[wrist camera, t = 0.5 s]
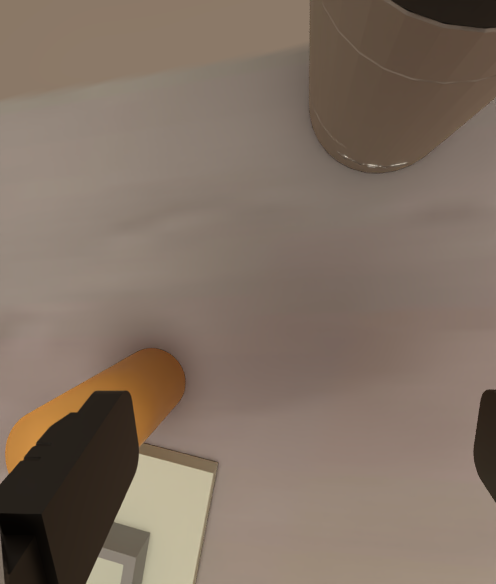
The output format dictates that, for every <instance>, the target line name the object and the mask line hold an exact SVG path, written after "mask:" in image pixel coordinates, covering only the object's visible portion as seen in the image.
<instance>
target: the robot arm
mask: <svg viewBox="0 0 496 584" xmlns="http://www.w3.org/2000/svg"><path fill="white" fill-rule="evenodd" d="M494 98H496V0H310V56H309V113H310V118H311V123H312V127H313V130H314V132H315V134H316V136H317V139H318V141H319V142H320V143H321V145H322V146H323V147H324V149H325V150H326V151H327V152H328V153H329V154H330V155H331V156H332V157H333V158H335V159H336V160H337V161H338V162H340V163H342V164H344V165H346V166H348V167H350V168H352V169H355V170H359V171H363V172H370V173H384V172H391V171H396V170H399V169H402V168H404V167H407V166H410V165H412V164H413V163H415V162H417V161H418V160H420V159H422V158H423V157H425V156H426V155H427V154H428V153H430V152H431V151H432V150H433V149H434V148H435V147H437V146H438V145H439V144H440V143H441V142H443V141H444V140H445V139H447V138H448V137H449V136H450V135H451V134H453V133H454V132H455V131H456V130H457V129H459V128H460V127H461V126H462V125H463V124H465V123H466V122H467V121H468V120H469V119H471V118H472V117H473V116H474V115H475V114H476V113H478V112H479V111H480V110H481V109H482V108H484V107H485V106H486V105H487V104H488V103H490V102H491V101H492V100H493V99H494ZM138 460H139V443H138V436H137V430H136V423H135V416H134V409H133V402H132V397H131V394H130V393H129V391H94V392H93V393H92V394H91V395H90V397H89V398H88V399H87V400H86V402H85V403H84V404H83V405H82V407H81V408H80V409H79V411H78V412H71V413H69V414H68V415H66V416H65V417H63V418H62V419H60V420H59V421H57V422H56V423H54V424H53V425H51V426H50V427H49V428H48V429H47V430H46V432H45V433H44V434H43V435H42V436H41V437H40V439H39V440H38V441H37V442H36V446H33V447H32V448H31V449H30V450H29V451H28V453H27V454H26V455H25V456H24V460H23V461H20V462H19V463H18V464H17V465H16V467H15V468H14V469H13V470H12V471H11V472H10V474H9V475H8V476H7V477H6V478H5V479H4V481H3V482H2V483H1V484H0V584H86V582H87V580H88V578H89V576H90V574H91V571H92V569H93V567H94V565H95V562H96V560H97V558H98V556H99V554H100V551H101V549H102V547H103V545H104V543H105V540H106V538H107V536H108V534H109V531H110V529H111V527H112V525H113V523H114V520H115V518H116V516H117V514H118V511H119V509H120V507H121V505H122V503H123V500H124V498H125V496H126V494H127V491H128V489H129V487H130V485H131V483H132V480H133V478H134V476H135V473H136V470H137V466H138ZM474 462H475V466H476V470H477V473H478V475H479V477H480V479H481V481H482V482H483V484H484V485H485V487H486V488H487V490H488V491H489V493H490V494H491V496H492V498H493V499H494V501H495V502H496V390H486V391H485V392H484V393H483V394H482V397H481V401H480V408H479V415H478V422H477V429H476V435H475V442H474Z"/></svg>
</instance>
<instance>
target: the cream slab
mask: <svg viewBox="0 0 496 584" xmlns="http://www.w3.org/2000/svg"><path fill="white" fill-rule="evenodd" d="M217 467H218V463H217V462H213V461H210V460H206V459H202V458H198V457H194V456H191V455H187V454H183V453H179V452H175V451H172V450H168V449H164V448H160V447H156V446H153V445H149V444H145V443H143V444H142V445H141V446H140V447H139V460H138V466H137V470H136V473H135V476H134V478H133V480H132V483H131V485H130V487H129V489H128V491H127V494H126V496H125V498H124V500H123V503H122V505H121V507H120V509H119V511H118V514H117V516H116V518H115V520H114V523H113V525H112V527H111V529H110V531H109V534H108V536H107V538H106V540H105V543H104V545H103V547H102V549H101V551H100V554H99V556H98V558H97V560H96V562H95V565H94V567H93V569H92V571H91V574H90V576H89V578H88V580H87V582H86V584H195V582H196V577H197V571H198V566H199V561H200V556H201V550H202V545H203V540H204V535H205V530H206V524H207V519H208V514H209V509H210V503H211V498H212V493H213V488H214V482H215V477H216V472H217Z"/></svg>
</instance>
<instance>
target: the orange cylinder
mask: <svg viewBox="0 0 496 584" xmlns="http://www.w3.org/2000/svg"><path fill="white" fill-rule="evenodd" d="M184 390H185V375H184V372H183V369H182V367H181V365H180V364H179V362H178V361H177V360H176V359H175V358H174V357H173V356H172V355H171V354H169V353H167V352H166V351H163V350H160V349H156V348H147V349H142V350H140V351H138V352H136V353H134V354H132V355H131V356H129V357H127V358H125V359H124V360H122V361H120V362H118V363H116V364H115V365H113V366H111V367H109V368H108V369H106V370H104V371H102V372H101V373H99V374H97V375H95V376H94V377H92V378H90V379H88V380H87V381H85V382H83V383H81V384H79V385H78V386H76V387H74V388H72V389H71V390H69V391H67V392H65V393H64V394H62V395H60V396H58V397H57V398H55V399H53V400H51V401H50V402H48V403H46V404H44V405H42V406H41V407H39V408H37V409H35V410H34V411H32V412H30V413H28V414H27V415H25V416H24V417H22V418H21V419H20V420H19V421H18V422H17V423H16V424H15V425H14V427H13V428H12V430H11V432H10V434H9V437H8V440H7V444H6V451H5V457H6V465H7V469H8V472H9V474H10V472H11V471H12V470H13V469H14V468H15V467H16V465H17V464H18V463H19V462H20V461H23V460H24V456H25V455H26V454H27V453H28V451H29V450H30V449H31V448H32V447H33V446H36V442H37V441H38V440H39V439H40V437H41V436H42V435H43V434H44V433H45V432H46V430H47V429H48V428H49V427H50V426H51V425H53V424H54V423H56V422H57V421H59V420H60V419H62V418H63V417H65V416H66V415H68V414H69V413H71V412H78V411H79V409H80V408H81V407H82V405H83V404H84V403H85V402H86V400H87V399H88V398H89V397H90V395H91V394H92V393H93V392H94V391H129V393H130V394H131V397H132V402H133V409H134V416H135V423H136V430H137V436H138V443H139V447H140V446H141V445H142V444H143V442H144V441H145V440H146V439H147V438H148V437H149V436H150V434H151V433H152V432H153V431H154V430H155V429H156V428H157V426H158V425H159V424H160V423H161V422H162V421H163V420H164V418H165V417H166V416H167V415H168V414H169V413H170V412H171V410H172V409H173V408H174V407H175V406H176V405H177V404H178V402H179V401H180V400H181V398H182V396H183V394H184Z"/></svg>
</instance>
